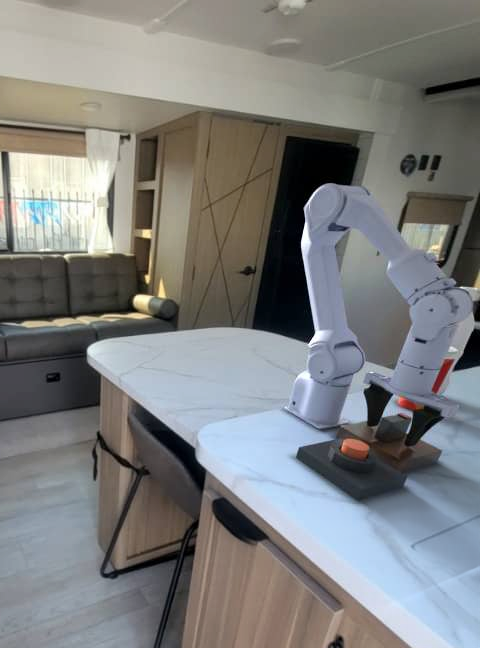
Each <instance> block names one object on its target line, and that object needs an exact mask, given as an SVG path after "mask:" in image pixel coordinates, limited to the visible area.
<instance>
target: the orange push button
mask: <svg viewBox="0 0 480 648" xmlns="http://www.w3.org/2000/svg"><path fill="white" fill-rule="evenodd" d="M369 449H370V448H369V446H368V445H367V444H366V443H364V442H362V441H359V440H355V439H346V440H344V442H343V445H342V448H341V452H342V453H344V454H345V455H347V456H350V457H353V458H356V459H365V458H366V457H367V454H368V451H369Z"/></svg>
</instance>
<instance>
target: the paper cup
mask: <svg viewBox="0 0 480 648" xmlns="http://www.w3.org/2000/svg"><path fill="white" fill-rule="evenodd" d="M457 353H458V350H457V349H456V348H454V347H451V346H450V348H449V350H448V353H447V355H446V357H445V360H444V362H443V364H442V367H441V369H440V371H439V373H438V376H437V378H436V380H435V383H434V385H433V387H432V390H431V391H432V392H434V393H436V394H437V392H438V390H439V388H440V386H441V385H442V383H443V381H444V379H445V377H446V375H447V373H448V371H449V369H450V368H451V366H452V364H453V362H454V360H455V359H456V358H458V355H457ZM397 404H398V405H399V406H400V407H401V408H404V409H406V410H409V411H413V410H417V409H423V408H424V407H423V406H421V405H418V404H416V403H414V402H411V401H409V400H407V399H404V398H402V397H399V396H398V400H397Z"/></svg>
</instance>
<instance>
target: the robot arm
mask: <svg viewBox="0 0 480 648" xmlns="http://www.w3.org/2000/svg"><path fill="white" fill-rule="evenodd" d="M303 211H304V218H305V223H304V228H303V232H302V237H301V241H300V244H301V245H300V248H301V254H302V260H303V265H304V272H305V277H306V284H307V290H308V296H309V303H310V308H311V315H312V321H313V326H314V336H313V337H312V339H311V340H310V342H309V343H308V345H307V349H308V356H307V360H306V370H305V371H303V372H301V373H300V374H299V375H298V376H297V378H296V379H295V381H294V384H293V387H292V391H291V393H290V399H289V403H288V406H285V407H284V410H286V411H287V412H289V413H291V414H292V415H294V416H296V417H297V418H299V419H300V420H301V421H304V422H306V423H308V424H309V425H310V426H313V427H314V428H316V429H318V430H325V429H330V428H334V427H340V426H344V425H349V424H350V422H349V421H348V420H347V419H344V418H343V417H342V416H341V415H342V412H343V409H344V406H345V403H346V400H347V397H348V394H349V391H350V389H351V385H352V383H353V378H354V375H355V374H357V373H359V372H360V371H361V370H363V368H364V366H365V364H366V353H365V352H364V350H363V349H362V347H361V346H360V343H359V341H358V336H357V335H356V334H355V333H354V332H353V331H352V330H351V329H350V328H349V326H348V320H347V314H346V313H347V312H346V309H345V307H346V306H345V302H344V301H345V300H344V296H343V289H342V283H341V278H340V277H341V276H340V270H339V265H338V264H339V263H338V259H337V253H336V252H337V251H336V245H337V244H338V242H339V241H340V240H341V239H342V237H343V236H344V235H345V234H347V233H348V231H350V230H351V229H355V230H358V231H360V233H361V234H362V235H363V236H364V237H365V238H366V239H367V241H369V243H370V244H371V245H372V246H373V247H374V248H375V250H376V251H377V252H378V253H379V254H380V255H381V256H382V258H384V260H385V261H386V262H387V263H388V264H387V268H386V276H387V277H388V279H389V280H390V281H391V283H392V284H393V285H394V287H395V288H396V289H397V291H398V292H399V293H400V294H401V296H402V297H403V298H404V299H405V301H406V302H407V304H408V305H410V306H409V318H410V321H411V327H410V329H409V331H408V333H407V336H406V338H405V341H404V344H403V347H402V348H401V349H402V350H401V352H400V355H399V357H398V360H397V362H396V365H395V368H394V370H393V373H392V376H387V375H385V374H384V375H383V374H380V373H377V372H374V371H373V372H372V371H371V372H366V373H365V375H364V378H363V381H362V383H363V384H366V385H367V386H368V387H366V388H363V392H362V393H363V396H364V398H365V403H366V411H367V413H366V414H367V415H366V417H367V418H366V421H367V426H369V427H373V426H377V425H378V424H379V422H380V420H381V418H382V417H383V415H384V412H385V409H386V408H387V406H388V404H389V403H390V401H391V399H392V398H393V396H394V395H395V396H397V397H398V398H399V397H402V398H404V399H407V400H409V401H411V402H414V403H416V404H418V405H421V406H423V407H424V408H423V409H417V410H412V416H411V418H412V420H411V423H410V426H409V427H410V428H409V429H408V432H407V433H408V435H407V437H406V439H405V443H404V445H405V446H407V447H410V446H414V445H416V444H417V443H418V441H419V440H422V438H423V437H424V436H425V434H426V433H428V431H429V430H431V429H432V428H433V427H434V426H436V425H437V424H438V423H439V422H442V421H443V420H444V419H449V418H454V417H456V415H457V413H458V411H459V409H460V405H459V404H457V403H455V402H452V401H450V400H449V399H446V398H444V397H442V395H440V396H439V395H437V394H436V393H434V392H432V391H431V390H432V387H433V385H434V383H435V380H436V378H437V376H438V373H439V371H440V369H441V367H442V364H443V362H444V360H445V357H446V355H447V353H448V350H449V348H450V346H451V344H452V341H453V338H454V335H455V333H456V331H457V328H458V326H459V325H454V324H457V323H459V322H461V321H463V320H465V319H466V318H467V317H468V316H469V315H470V314H471V312H472V311H473V310H474V301H473V300H472V297H471V296H470V293H469V291H467V290H466V289H463V288H460V287H461V286H459V287H458V286H455V285H457V281H456V280H455V279H454V278H449V277H447V275H446V274H445V272H444V271H442V269H441V268H440V267H439V266H438V264H437V263H436V262H435V261H437V260H438V256H437V255H436V254H435V253H434V252H427V251H426V250H425V249H422V248H419V249H417V248H416V249H415V248H413V249H412V247H410V245H409V244H408V243H407V240H405V238H404V237H403V235H402V234H401V233H400V231H399V229H398V228H397V227H396V225H395V224H394V222H393V221H392V220H391V218H390V217H389V216H388V214H387V213H386V211H385V210H384V209H383V206H382V205H381V202H380V200H379V199H378V197H376V196H375V195H372V192H371V191H370V190H369V189H368V188H367V187H366V186H363V185H354V186H353V185H343V184H338V183H337V184H336V183H334V182H333V183H332V182H331V183H325V184H322V185H321V186H319V187H318V188H317V189H316V190H315V191H314V192H313V193H312V194H311V196H310V197H309V199H308V201H307V203H306V204H305V205H304V207H303ZM450 325H453V326H450ZM446 326H449V327H446Z"/></svg>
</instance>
